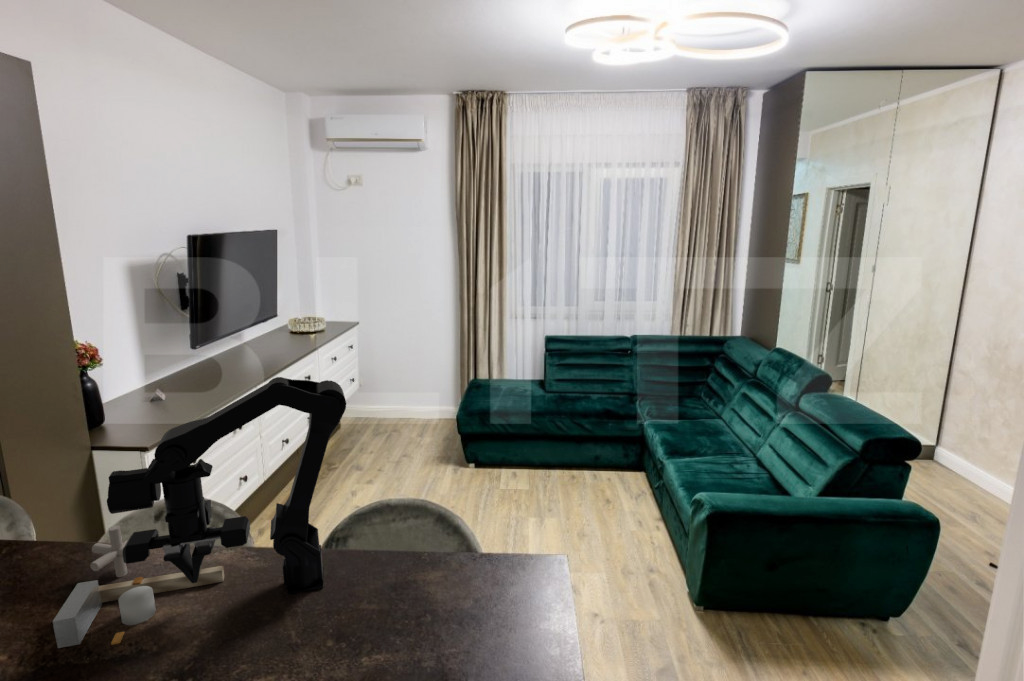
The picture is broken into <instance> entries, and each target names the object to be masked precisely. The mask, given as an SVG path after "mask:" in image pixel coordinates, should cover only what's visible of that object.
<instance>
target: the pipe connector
mask: <svg viewBox="0 0 1024 681" xmlns="http://www.w3.org/2000/svg"><path fill="white" fill-rule="evenodd" d="M107 530H108V534H109V536H108V537H109V541H110V544H108V543H102V542H101V543H100V542H99V543H98V542H96V543H95V544H93V545H92V547H91V552H92V553H94V554H97V555H98V554H99V555H102V556H100V557H98V558H97V559H96V560H93V561H92V562H91V563H90V564H89V565H90V569H91V570H92V571H94V572H98V571H99V570H101V569H103V568H104V567H106V565H109V564H110V563H112V562H113V565H114V571H115V576H116V578H122V577H125V576H126V575H127V574H128V568H127V564H126V563H124V561H123V554H122V553H123V548H124V546H125V545H126V543H127V541H128V540H129V538H128V539H126V540H125V541H123V538H122V531H121V526H120V525H119V524H118V525H113V526H110V527H108V529H107Z"/></svg>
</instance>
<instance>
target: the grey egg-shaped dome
mask: <svg viewBox="0 0 1024 681" xmlns="http://www.w3.org/2000/svg"><path fill="white" fill-rule="evenodd" d="M117 601H118V606H119V611H120V612H119V613H120V618H121V623H122V624H123V625H125V626H136V625H139V624H142V623H144V622H146V621H148V620H150V619H151V618H152V617H153V616H154V615H155V614H156V611H157V609H156V601H155V596H154V594H153V589H152V588H151V587H149V586H139V587H135V588H132V589H130V590H128V591H126V592H125V593H123V594H122V595H121V596H120V597H119V600H117Z"/></svg>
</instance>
